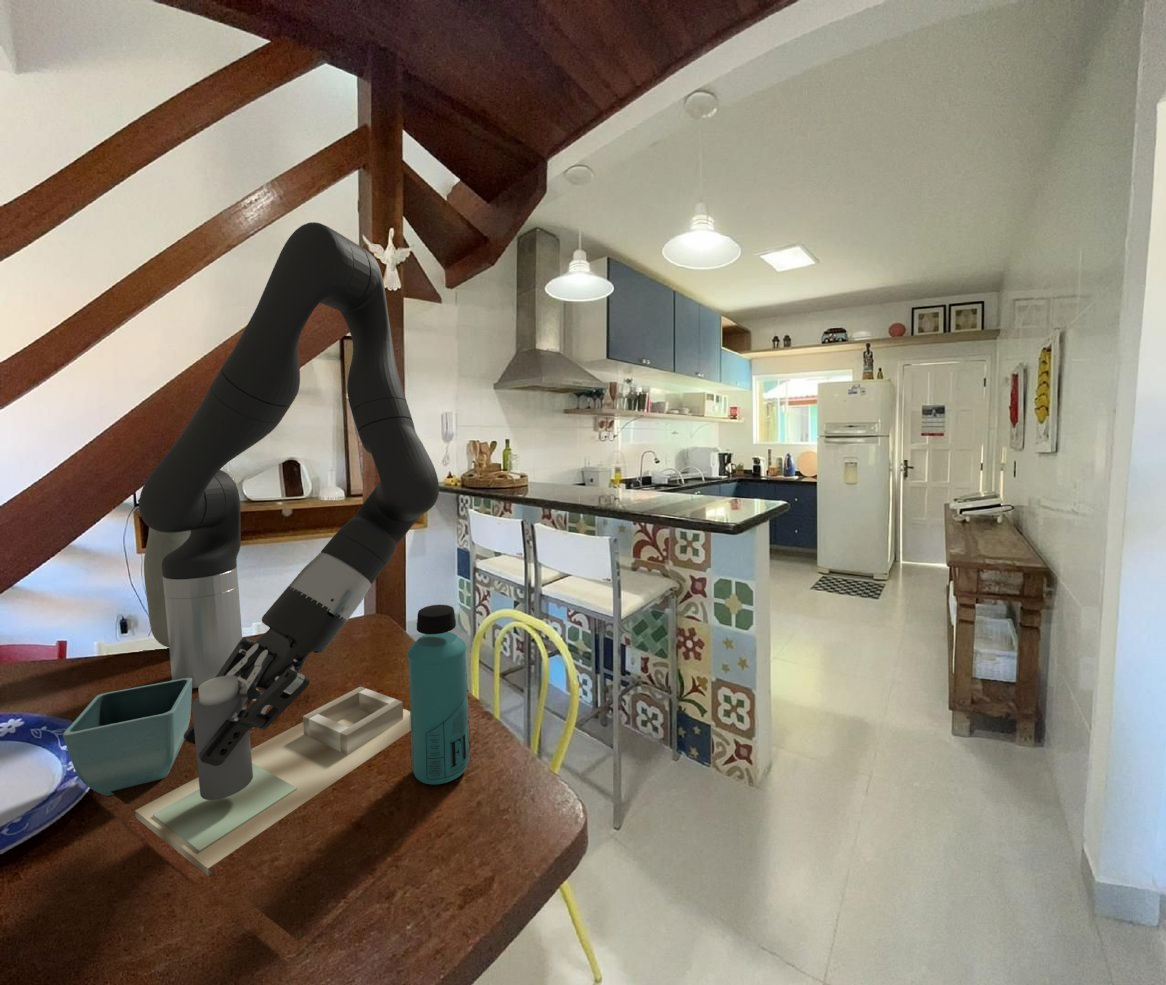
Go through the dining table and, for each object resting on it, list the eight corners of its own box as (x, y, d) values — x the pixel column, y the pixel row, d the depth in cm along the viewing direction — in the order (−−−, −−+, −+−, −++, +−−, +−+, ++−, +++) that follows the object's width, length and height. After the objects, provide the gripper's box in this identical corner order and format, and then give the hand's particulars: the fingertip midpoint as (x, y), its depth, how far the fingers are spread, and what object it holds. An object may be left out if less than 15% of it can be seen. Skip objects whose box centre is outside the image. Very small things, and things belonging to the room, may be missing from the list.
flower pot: (69, 817, 49) (59, 734, 48) (105, 765, 57) (97, 693, 56) (179, 789, 53) (172, 712, 52) (199, 744, 61) (193, 676, 60)
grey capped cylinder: (191, 790, 49) (181, 687, 48) (238, 764, 53) (230, 669, 51) (214, 806, 47) (204, 699, 46) (261, 778, 51) (254, 678, 49)
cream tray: (135, 817, 49) (132, 787, 49) (359, 697, 72) (358, 676, 71) (208, 876, 42) (205, 842, 42) (428, 723, 65) (428, 700, 65)
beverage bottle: (455, 803, 51) (450, 622, 49) (398, 793, 53) (392, 616, 50) (480, 763, 58) (477, 601, 55) (429, 755, 59) (424, 596, 57)
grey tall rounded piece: (146, 646, 88) (132, 494, 85) (215, 630, 96) (204, 490, 93) (157, 663, 82) (141, 499, 79) (229, 644, 90) (218, 494, 86)
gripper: (268, 573, 58) (144, 713, 50) (323, 598, 49) (184, 772, 41) (317, 604, 63) (211, 737, 54) (375, 631, 54) (259, 794, 46)
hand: (200, 751), depth 48 cm, fingers closed on grey capped cylinder, 4 cm apart
